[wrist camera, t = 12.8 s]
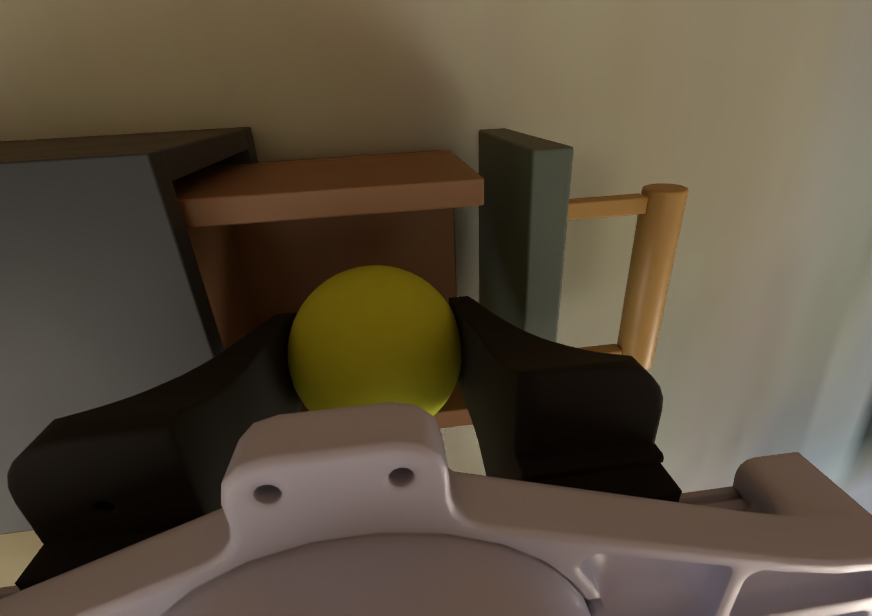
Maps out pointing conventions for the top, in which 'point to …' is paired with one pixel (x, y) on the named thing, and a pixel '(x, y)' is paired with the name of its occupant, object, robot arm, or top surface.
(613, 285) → the top surface
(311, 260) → the drawer
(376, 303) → the ball
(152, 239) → the cabinet
